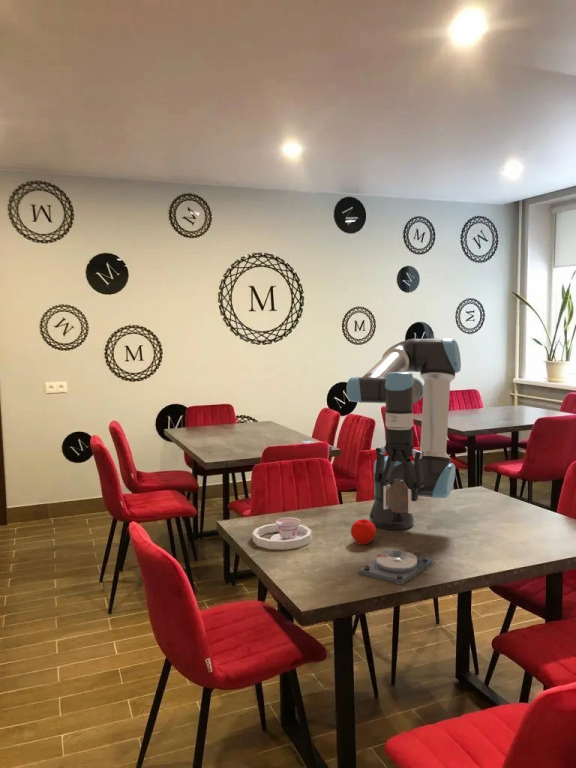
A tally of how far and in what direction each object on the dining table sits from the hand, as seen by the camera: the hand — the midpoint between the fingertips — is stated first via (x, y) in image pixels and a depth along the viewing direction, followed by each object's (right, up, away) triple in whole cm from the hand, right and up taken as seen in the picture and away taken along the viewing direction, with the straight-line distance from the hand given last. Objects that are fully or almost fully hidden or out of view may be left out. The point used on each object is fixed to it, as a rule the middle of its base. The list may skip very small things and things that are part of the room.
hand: (399, 510), depth 170 cm
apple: (-7, -15, +21) cm, 27 cm away
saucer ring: (-33, -15, +26) cm, 44 cm away
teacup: (-31, -15, +25) cm, 43 cm away
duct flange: (-1, -16, -1) cm, 16 cm away
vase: (0, 0, 0) cm, 0 cm away
